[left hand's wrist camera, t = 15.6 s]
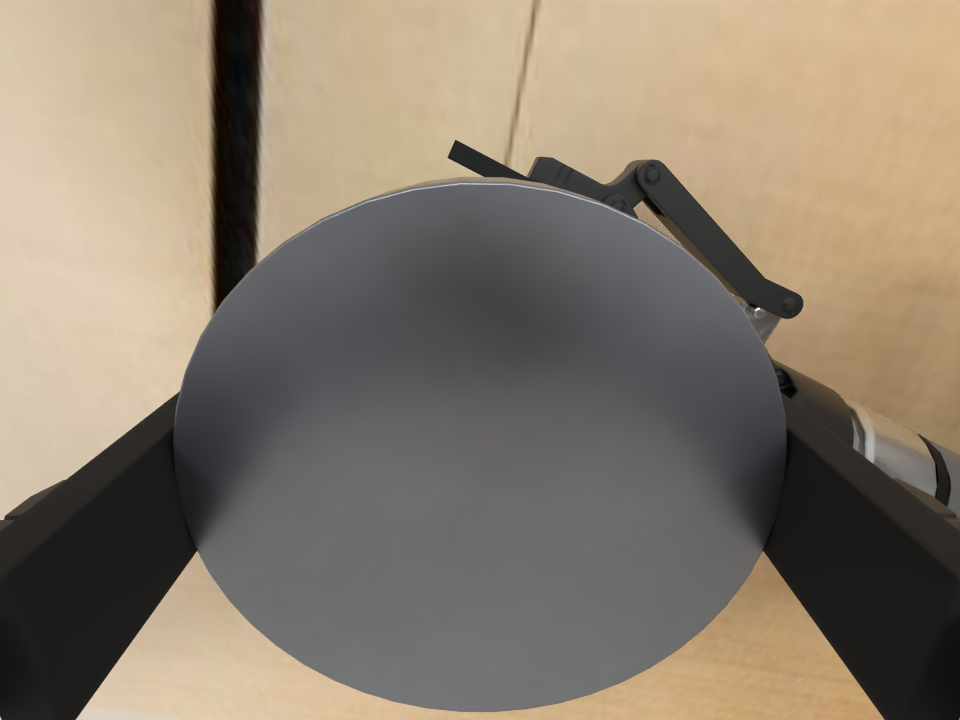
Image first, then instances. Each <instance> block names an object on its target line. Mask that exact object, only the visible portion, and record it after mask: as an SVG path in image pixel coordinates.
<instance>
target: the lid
mask: <svg viewBox="0 0 960 720" xmlns="http://www.w3.org/2000/svg"><path fill="white" fill-rule="evenodd" d="M787 451H788V450H787V434H786V417H785V411H784V407H783V402H782V398H781V393H780V389H779V384H778V380H777V376H776V374H775V371H774V369H773V366H772V364H771V361H770V359H769V356H768V354H767V351H766V349H765V346H764V344H763V342H762V340H761V338H760V336H759V335H758V333H757V331H756V330H755V328H754V326H753V325H752V323H751V321H750V320H749V318H748V316H747V315H746V313H745V311H744V310H743V308H742V307H741V306H740V304H739V303H738V302H737V301H736V299H735V298H734V297H733V296H732V295H731V293H730V292H729V291H728V290H727V289H726V287H725V286H724V285H723V284H722V283H721V281H720V280H719V279H718V278H717V277H716V276H715V275H714V274H713V273H712V272H711V271H710V270H709V269H708V268H706V267H705V266H704V265H703V264H702V263H701V262H700V261H699V260H697V259H696V258H695V257H694V256H693V255H692V254H691V253H690V252H688V251H687V250H686V249H685V248H684V247H682V246H681V245H679V244H678V243H676V242H675V241H673V240H672V239H670V238H669V237H667V236H666V235H664V234H663V233H661V232H659V231H658V230H656V229H655V228H653V227H652V226H650V225H649V224H647V223H645V222H643V221H641V220H639V219H637V218H635V217H633V216H630V215H628V214H626V213H624V212H622V211H620V210H617V209H615V208H613V207H611V206H609V205H607V204H604V203H602V202H599V201H596V200H594V199H591V198H588V197H586V196H583V195H580V194H577V193H573V192H570V191H567V190H563V189H560V188H557V187H553V186H550V185H547V184H543V183H537V182H530V181H524V180H517V179H511V178H504V177H459V178H451V179H443V180H435V181H427V182H422V183H419V184H415V185H411V186H408V187H404V188H400V189H396V190H393V191H389V192H386V193H383V194H380V195H378V196H375V197H372V198H370V199H367V200H364V201H362V202H360V203H357V204H355V205H353V206H350V207H348V208H346V209H343V210H341V211H339V212H336V213H334V214H332V215H329V216H327V217H325V218H322V219H321V220H319V221H318V222H316V223H314V224H313V225H311V226H309V227H308V228H306V229H304V230H303V231H301V232H300V233H298V234H296V235H295V236H293V237H291V238H290V239H288V240H286V241H285V242H283V243H282V244H281V245H280V246H279V247H277V248H276V249H275V250H274V251H273V252H271V253H270V254H269V255H268V256H267V257H265V258H264V259H263V260H262V261H261V262H259V263H258V264H257V265H256V266H255V267H253V268H252V269H251V270H250V271H249V272H248V273H247V274H246V276H245V277H244V278H243V279H242V280H241V281H240V282H239V283H238V285H237V286H236V287H235V288H234V289H233V290H232V291H231V293H230V294H229V295H228V296H227V297H226V298H225V299H224V300H223V302H222V303H221V305H220V306H219V308H218V309H217V311H216V313H215V314H214V316H213V317H212V319H211V320H210V322H209V324H208V325H207V327H206V328H205V330H204V331H203V333H202V335H201V336H200V339H199V341H198V343H197V346H196V348H195V350H194V352H193V355H192V357H191V359H190V362H189V364H188V366H187V369H186V371H185V375H184V378H183V382H182V386H181V390H180V394H179V398H178V402H177V406H176V413H175V424H174V435H173V458H174V474H175V482H176V486H177V491H178V495H179V500H180V504H181V508H182V513H183V516H184V519H185V522H186V524H187V527H188V530H189V532H190V535H191V538H192V540H193V543H194V545H195V547H196V549H197V551H198V553H199V554H200V556H201V558H202V560H203V562H204V564H205V566H206V567H207V569H208V571H209V573H210V575H211V576H212V577H213V579H214V580H215V581H216V583H217V584H218V586H219V587H220V588H221V590H222V591H223V593H224V594H225V595H226V597H227V598H228V599H229V601H230V602H231V603H232V604H233V605H234V606H235V607H236V608H237V609H238V610H239V612H240V613H241V614H242V615H243V616H244V617H245V618H246V619H247V620H248V621H249V622H250V623H251V624H252V625H253V626H254V627H255V628H256V629H257V630H259V631H260V632H261V633H262V634H263V635H264V636H266V637H267V638H268V639H269V640H270V641H271V642H273V643H274V644H275V645H276V646H277V647H279V648H280V649H282V650H283V651H285V652H286V653H288V654H289V655H291V656H292V657H294V658H295V659H297V660H298V661H300V662H301V663H303V664H304V665H306V666H308V667H310V668H312V669H313V670H315V671H317V672H319V673H321V674H323V675H325V676H327V677H328V678H330V679H332V680H334V681H337V682H339V683H342V684H344V685H347V686H349V687H351V688H354V689H356V690H359V691H361V692H364V693H367V694H370V695H374V696H377V697H380V698H384V699H387V700H390V701H394V702H398V703H403V704H408V705H413V706H418V707H423V708H429V709H439V710H449V711H459V712H498V711H510V710H522V709H530V708H535V707H541V706H547V705H552V704H558V703H562V702H565V701H569V700H572V699H576V698H580V697H583V696H587V695H590V694H593V693H596V692H598V691H601V690H603V689H606V688H608V687H611V686H614V685H616V684H619V683H621V682H623V681H625V680H627V679H629V678H631V677H633V676H635V675H637V674H639V673H641V672H643V671H645V670H647V669H649V668H651V667H652V666H654V665H655V664H657V663H658V662H660V661H662V660H663V659H665V658H666V657H668V656H669V655H671V654H672V653H674V652H675V651H677V650H678V649H680V648H681V647H682V646H683V645H685V644H686V643H687V642H688V641H689V640H691V639H692V638H693V637H694V636H696V635H697V634H698V633H699V632H701V631H702V630H703V629H704V628H705V627H706V626H707V625H708V624H709V623H710V622H711V621H712V620H713V619H714V618H715V617H716V616H717V615H718V614H719V613H720V612H721V611H722V610H723V609H724V608H725V607H726V605H727V604H728V603H729V602H730V600H731V599H732V598H733V596H734V595H735V594H736V592H737V591H738V590H739V588H740V587H741V586H742V584H743V583H744V582H745V581H746V579H747V578H748V576H749V574H750V572H751V571H752V569H753V567H754V565H755V564H756V562H757V560H758V558H759V557H760V555H761V553H762V551H763V550H764V547H765V545H766V542H767V540H768V537H769V535H770V532H771V530H772V528H773V525H774V523H775V520H776V517H777V513H778V508H779V504H780V500H781V496H782V491H783V487H784V482H785V473H786V462H787Z"/></svg>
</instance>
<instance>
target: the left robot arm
mask: <svg viewBox="0 0 960 720" xmlns="http://www.w3.org/2000/svg"><path fill="white" fill-rule="evenodd" d="M780 393H781V398H782V402H783V407H784V411H785V417H786V434H787V450H788V451H787V462H786V473H785V482H784V487H783V491H782V496H781V500H780V504H779V508H778V513H777V517H776V520H775V523H774V525H773V528H772V530H771V532H770V535H769V537H768V540H767V542H766V545H765V547H764V550H763V551H764V552H765V554H766V555H767V557H768V558H769V559H770V561H771V562H772V564H773V565H774V566H775V568H776V569H777V570H778V572H779V573H780V575H781V576H782V577H783V579H784V580H785V582H786V583H787V584H788V586H789V587H790V589H791V590H792V591H793V593H794V594H795V596H796V597H797V598H798V600H799V601H800V602H801V604H802V605H803V607H804V608H805V609H806V611H807V612H808V614H809V615H810V616H811V618H812V619H813V621H814V622H815V623H816V625H817V626H818V627H819V629H820V630H821V632H822V633H823V634H824V636H825V637H826V639H827V640H828V641H829V643H830V644H831V646H832V647H833V648H834V650H835V651H836V653H837V654H838V655H839V657H840V658H841V659H842V661H843V662H844V664H845V665H846V666H847V668H848V669H849V671H850V672H851V673H852V675H853V676H854V678H855V679H856V680H857V682H858V683H859V684H860V686H861V687H862V689H863V690H864V691H865V693H866V694H867V696H868V697H869V698H870V700H871V701H872V703H873V704H874V705H875V707H876V708H877V710H878V711H879V712H880V714H881V715H882V716H883V718H884V719H885V720H959V718H960V518H957V514H956V513H954V512H953V511H952V510H950V509H949V508H948V507H946V506H945V505H944V504H942V503H941V502H940V501H938V500H937V499H936V498H934V497H933V496H932V495H930V494H928V493H926V492H924V491H922V490H920V489H918V488H916V487H914V486H912V485H910V484H908V483H906V482H904V481H902V480H900V479H898V478H891V477H890V476H888V475H887V474H886V473H885V472H883V471H882V470H881V469H880V468H878V467H877V466H876V465H874V464H873V463H872V462H871V461H869V460H868V459H867V458H865V457H864V456H863V455H862V454H860V453H859V452H858V451H856V450H855V449H854V448H853V447H851V446H850V445H849V444H847V443H846V442H845V441H844V440H842V439H841V438H840V437H838V436H837V435H836V434H835V433H833V432H832V431H831V430H829V429H828V428H827V427H826V426H824V425H823V424H822V423H820V422H819V421H818V420H817V419H815V418H814V417H813V416H811V415H810V414H809V413H808V412H806V411H805V410H804V409H803V408H801V407H800V406H799V405H797V404H796V403H795V402H794V401H792V400H791V399H790V398H788V397H787V396H786V395H785V394H783V393H782V392H781V391H780ZM179 394H180V392H178V393H177V394H176V395H175V396H173V397H172V398H171V399H169V400H168V401H167V402H166V403H164V404H163V405H162V406H160V407H159V408H158V409H157V410H155V411H154V412H153V413H151V414H150V415H149V416H148V417H146V418H145V419H144V420H142V421H141V422H140V423H139V424H137V425H136V426H135V427H134V428H132V429H131V430H130V431H128V432H127V433H126V434H125V435H123V436H122V437H121V438H119V439H118V440H117V441H116V442H114V443H113V444H112V445H110V446H109V447H108V448H107V449H105V450H104V451H103V452H101V453H100V454H99V455H98V456H96V457H95V458H94V459H92V460H91V461H90V462H89V463H87V464H86V465H85V466H83V467H82V468H81V469H80V470H78V471H77V472H76V473H74V474H73V475H72V476H71V477H69V478H68V479H67V480H63V481H61V482H59V483H57V484H55V485H53V486H51V487H49V488H47V489H45V490H43V491H41V492H39V493H37V494H35V495H33V496H31V497H30V498H28V499H27V500H26V501H24V502H23V503H22V504H20V505H19V506H18V507H16V508H15V509H14V510H12V511H11V512H10V513H8V514H7V515H6V516H5V519H4V520H0V717H1V719H2V720H76V718H77V717H78V716H79V714H80V713H81V711H82V710H83V709H84V707H85V706H86V704H87V703H88V702H89V700H90V699H91V698H92V696H93V695H94V693H95V692H96V691H97V689H98V688H99V686H100V685H101V684H102V682H103V681H104V679H105V678H106V677H107V675H108V674H109V672H110V671H111V670H112V668H113V667H114V666H115V664H116V663H117V661H118V660H119V659H120V657H121V656H122V654H123V653H124V652H125V650H126V649H127V647H128V646H129V645H130V643H131V642H132V641H133V639H134V638H135V636H136V635H137V634H138V632H139V631H140V629H141V628H142V627H143V625H144V624H145V622H146V621H147V620H148V618H149V617H150V615H151V614H152V613H153V611H154V610H155V609H156V607H157V606H158V604H159V603H160V602H161V600H162V599H163V597H164V596H165V595H166V593H167V592H168V590H169V589H170V588H171V586H172V585H173V584H174V582H175V581H176V579H177V578H178V577H179V575H180V574H181V572H182V571H183V570H184V568H185V567H186V565H187V564H188V563H189V561H190V560H191V558H192V557H193V556H194V554H195V553H196V552H197V549H196V547H195V545H194V543H193V540H192V538H191V535H190V532H189V530H188V527H187V524H186V522H185V519H184V516H183V513H182V508H181V504H180V500H179V495H178V491H177V486H176V482H175V474H174V458H173V435H174V424H175V413H176V406H177V402H178V398H179Z"/></svg>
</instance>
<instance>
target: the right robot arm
mask: <svg viewBox="0 0 960 720" xmlns="http://www.w3.org/2000/svg"><path fill="white" fill-rule="evenodd" d="M448 158H449V159H451V160H453V161H455V162H457V163H459V164H461V165H462V166H464V167H466V168H468V169H470V170H472V171H474V172H476V173H478V174H480V175H482V176H484V177H504V178H511V179H517V180H524V181H530V182H537V183H543V184H547V185H550V186H553V187H557V188H560V189H563V190H567V191H570V192H573V193H577V194H580V195H583V196H586V197H588V198H591V199H594V200H596V201H599V202H602V203H604V204H607V205H609V206H611V207H613V208H615V209H617V210H620V211H622V212H624V213H626V214H628V215H630V216H633V217H635V218H637V219H638V217H637V215H636V213H635V211H634V210H633V208H634V207H635V206H636V205H637V204H638V203H639V202H640V201H642V202H643V203H644V204H645V205H646V206H647V207H648V208H649V209H650V210H651V211H652V213H653V214H654V215H655V216H656V217H657V218H658V219H659V220H660V221H661V222H662V223H663V224H664V226H665V227H666V228H667V229H668V230H669V231H670V232H671V233H672V234H673V235H674V236H675V238H676V239H677V240H678V241H679V242H680V243H681V244H682V245H683V246H684V247H685V248H686V250H687V251H688V252H690V253H691V254H692V255H693V256H694V257H695V258H696V259H697V260H699V261H700V262H701V263H702V264H703V265H704V266H705V267H706V268H708V269H709V270H710V271H711V272H712V273H713V274H714V275H715V276H716V277H717V278H718V279H719V280H720V281H721V283H722V284H723V285H724V286H725V287H726V289H727V290H728V291H729V292H730V293H732V294H734V295H735V296H734V298H735V299H736V301H737V302H738V303H739V304H740V306H741V307H742V308H743V310H744V311H745V313H746V315H747V316H748V318H749V320H750V321H751V323H752V325H753V326H754V328H755V330H756V331H757V333H758V335H759V336H760V338H761V340H762V342H763V344H765V342H766V341H767V339H768V338H769V336H770V335H771V333H772V331H773V330H774V328H775V327H776V325H777V324H778V322H779V321H780V319H781V318H785V319H789V318H793V317H795V316H797V315H798V314H799V313H800V312H801V310H802V307H803V299H802V297H801V296H800V295H799V294H797V293H795V292H793V291H791V290H788V289H786V288H784V287H782V286H780V285H778V284H776V283H773V282H771V281H769V280H767V279H765V278H764V277H763V275H762V274H761V273H760V272H759V271H758V270H757V269H756V268H755V266H754V265H753V264H752V263H751V262H750V261H749V260H748V259H747V257H746V256H745V255H744V254H743V253H742V252H741V251H740V250H739V248H738V247H737V246H736V245H735V244H734V243H733V242H732V240H731V239H730V238H729V237H728V236H727V235H726V234H725V233H724V231H723V230H722V229H721V228H720V227H719V226H718V225H717V224H716V222H715V221H714V220H713V219H712V218H711V217H710V216H709V215H708V213H707V212H706V211H705V210H704V209H703V208H702V207H701V205H700V204H699V203H698V202H697V201H696V200H695V199H694V198H693V196H692V195H691V194H690V193H689V192H688V191H687V190H686V189H685V187H684V186H683V185H682V184H681V183H680V182H679V181H678V180H677V178H676V177H675V176H674V175H673V174H672V173H671V172H670V170H669V169H668V168H667V167H666V166H665V165H664V164H663V163H662V162H660V161H658V160H636V161H632V162H631V163H630V164H628V165H627V167H626V168H625V170H624V171H623V172H622V173H621V174H620V175H619V176H618V177H617V178H616V179H615V180H613V181H612V182H610V183H608V184H604V185H603V184H600V183H598V182H597V181H595V180H593V179H591V178H589V177H587V176H585V175H583V174H582V173H580V172H578V171H576V170H574V169H572V168H570V167H569V166H567V165H565V164H563V163H561V162H559V161H557V160H555V159H554V158H548V157H536V159H535V161H534V163H533V165H532V167H531V169H530V171H529V173H528V175H527V177H525V176H523V175H521V174H519V173H518V172H516V171H514V170H512V169H510V168H508V167H506V166H504V165H502V164H500V163H499V162H497V161H495V160H493V159H491V158H489V157H487V156H485V155H483V154H481V153H480V152H478V151H476V150H474V149H472V148H470V147H468V146H466V145H464V144H462V143H461V142H459V141H457V140H455V142H454V144H453V146H452V149H451V151H450V153H449V156H448ZM765 349H766V348H765ZM766 351H767V349H766ZM767 354H768V356H769V359H770V361H771V364H772V366H773V369H774V371H775V374H776V376H777V380H778V384H779V389H780V391H781V392H782V393H783V394H785V395H786V396H787V397H788V398H790V399H791V400H792V401H794V402H795V403H796V404H797V405H799V406H800V407H801V408H803V409H804V410H805V411H806V412H808V413H809V414H810V415H811V416H813V417H814V418H815V419H817V420H818V421H819V422H820V423H822V424H823V425H824V426H826V427H827V428H828V429H829V430H831V431H832V432H833V433H835V434H836V435H837V436H838V437H840V438H841V439H842V440H844V441H845V442H846V443H847V444H849V445H850V446H851V447H853V448H854V449H855V450H856V451H858V452H859V453H860V454H862V455H863V456H864V457H865V458H867V459H868V460H869V461H871V462H872V463H873V464H874V465H876V466H877V467H878V468H880V469H881V470H882V471H883V472H885V473H886V474H887V475H888V476H890V477H891V478H898V479H900V480H902V481H904V482H906V483H908V484H910V485H912V486H914V487H916V488H918V489H920V490H922V491H924V492H926V493H928V494H930V495H932V496H933V497H934V498H936V499H937V500H938V501H940V502H941V503H942V504H944V505H945V506H946V507H948V508H949V509H950V510H952V511H953V512H954V513H956V514H957V518H960V455H958V454H956V453H954V452H952V451H950V450H948V449H946V448H944V447H941V446H939V445H937V444H935V443H933V442H931V441H929V440H927V439H925V438H924V437H922V436H921V435H919V434H917V433H916V432H914V431H912V430H910V429H908V428H906V427H904V426H902V425H900V424H899V423H897V422H895V421H893V420H891V419H889V418H887V417H885V416H883V415H881V414H879V413H877V412H875V411H873V410H871V409H869V408H867V407H866V406H864V405H862V404H860V403H858V402H856V401H854V400H852V399H849V398H847V397H845V396H843V395H839V394H838V393H836V392H835V391H834V390H832V389H830V388H828V387H826V386H824V385H822V384H821V383H819V382H817V381H815V380H813V379H811V378H809V377H807V376H805V375H803V374H801V373H799V372H797V371H795V370H793V369H791V368H789V367H787V366H785V365H783V364H781V363H779V362H777V361H775V360H773V359H772V358H771V356H770V355H769V353H768V351H767Z"/></svg>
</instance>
